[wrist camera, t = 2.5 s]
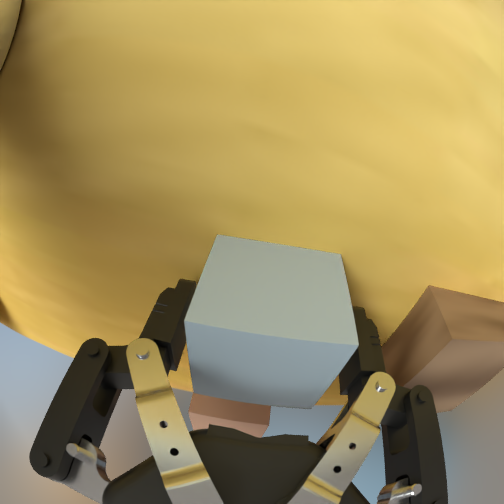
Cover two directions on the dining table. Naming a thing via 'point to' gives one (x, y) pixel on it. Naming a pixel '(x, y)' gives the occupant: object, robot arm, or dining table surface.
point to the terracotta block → (229, 414)
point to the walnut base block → (447, 346)
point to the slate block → (269, 323)
